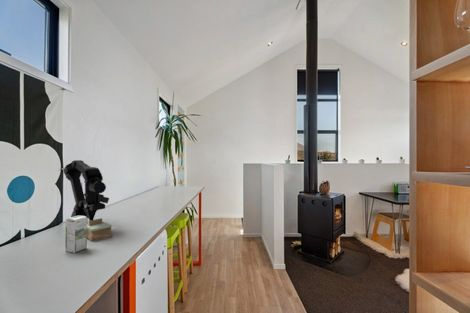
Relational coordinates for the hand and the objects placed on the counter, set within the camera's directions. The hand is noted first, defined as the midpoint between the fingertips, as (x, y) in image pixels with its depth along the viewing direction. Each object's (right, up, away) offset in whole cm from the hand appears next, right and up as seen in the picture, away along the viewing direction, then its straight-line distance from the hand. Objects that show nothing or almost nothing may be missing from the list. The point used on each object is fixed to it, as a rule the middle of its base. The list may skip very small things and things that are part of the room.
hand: (91, 221), depth 126 cm
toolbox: (+5, -7, -4) cm, 9 cm away
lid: (+5, -2, -4) cm, 6 cm away
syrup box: (+6, -7, -21) cm, 23 cm away
